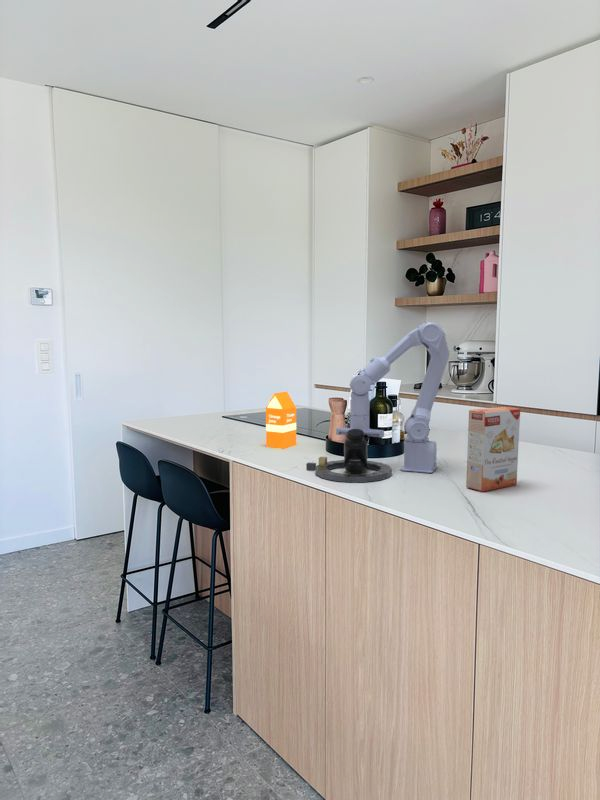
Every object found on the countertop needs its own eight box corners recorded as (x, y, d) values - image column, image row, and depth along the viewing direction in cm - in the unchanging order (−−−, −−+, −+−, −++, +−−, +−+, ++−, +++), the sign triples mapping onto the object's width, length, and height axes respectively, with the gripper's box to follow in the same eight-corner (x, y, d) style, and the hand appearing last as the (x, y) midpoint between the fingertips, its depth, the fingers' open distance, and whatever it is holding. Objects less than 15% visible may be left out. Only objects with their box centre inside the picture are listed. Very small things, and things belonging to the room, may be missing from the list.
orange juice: (296, 445, 217) (296, 391, 214) (283, 449, 209) (282, 393, 207) (279, 443, 221) (278, 390, 219) (265, 447, 213) (265, 392, 211)
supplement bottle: (352, 476, 169) (351, 439, 164) (340, 467, 175) (338, 430, 170) (372, 469, 172) (371, 433, 167) (359, 461, 177) (358, 425, 173)
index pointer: (316, 469, 176) (316, 463, 176) (313, 470, 175) (313, 464, 175) (308, 468, 177) (308, 462, 177) (306, 470, 176) (306, 463, 176)
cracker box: (483, 493, 149) (485, 411, 146) (465, 488, 154) (467, 409, 151) (518, 485, 156) (521, 407, 154) (500, 480, 161) (502, 405, 159)
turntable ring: (398, 467, 177) (399, 455, 176) (380, 484, 157) (380, 470, 156) (330, 462, 185) (330, 450, 185) (304, 477, 165) (304, 464, 165)
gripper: (386, 414, 176) (386, 458, 177) (341, 412, 182) (341, 455, 183) (380, 417, 169) (380, 463, 171) (333, 415, 175) (333, 459, 177)
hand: (359, 459), depth 177 cm, fingers closed, pressing on supplement bottle
